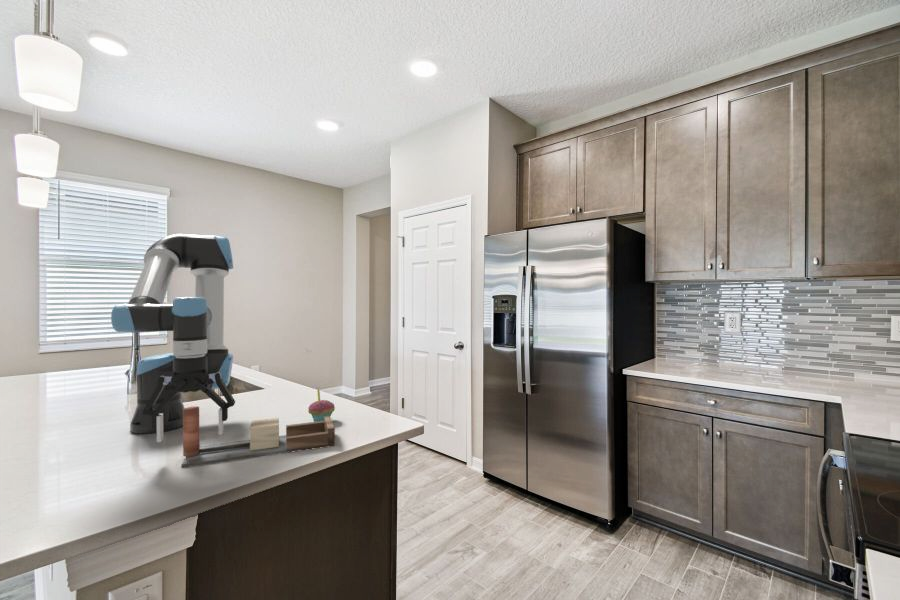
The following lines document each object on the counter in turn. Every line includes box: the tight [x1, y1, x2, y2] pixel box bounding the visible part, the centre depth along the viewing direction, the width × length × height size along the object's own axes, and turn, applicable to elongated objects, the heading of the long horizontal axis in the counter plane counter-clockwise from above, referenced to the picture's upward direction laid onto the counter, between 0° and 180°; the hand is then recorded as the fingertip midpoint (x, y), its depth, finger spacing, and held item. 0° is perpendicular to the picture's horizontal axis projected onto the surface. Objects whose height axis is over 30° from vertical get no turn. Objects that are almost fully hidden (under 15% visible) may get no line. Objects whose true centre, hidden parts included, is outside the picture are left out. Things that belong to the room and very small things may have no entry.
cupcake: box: [307, 388, 336, 422], centre depth 134 cm, size 9×8×12 cm
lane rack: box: [180, 416, 336, 468], centre depth 111 cm, size 12×37×5 cm, turn 113°
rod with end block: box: [182, 405, 280, 458], centre depth 108 cm, size 7×23×12 cm, turn 113°
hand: (191, 436), depth 104 cm, fingers open, 13 cm apart
